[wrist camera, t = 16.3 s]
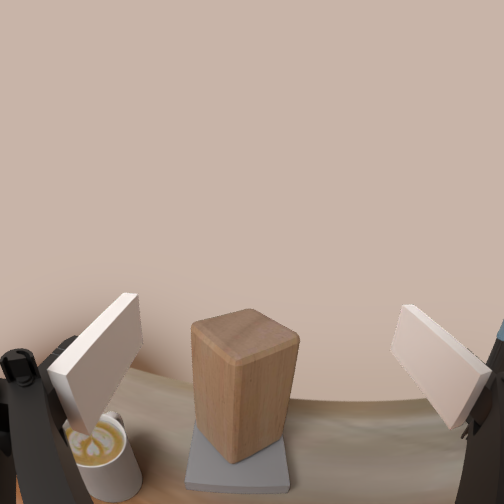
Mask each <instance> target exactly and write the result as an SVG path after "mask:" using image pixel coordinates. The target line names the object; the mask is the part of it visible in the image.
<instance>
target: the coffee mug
mask: <svg viewBox="0 0 504 504" xmlns="http://www.w3.org/2000/svg"><path fill="white" fill-rule="evenodd" d="M63 428H64V430H65V432H66V435H67V438H68V441H69V444H70V447H71V450H72V453H73V456H74V459H75V461H76V464H77V467H78V469H79V472H80V474H81V476H82V479H83V481H84V484H85V486H86V488H87V490H88V492H89V494H90V495H92V496H93V497H95V498H97V499H99V500H102V501H105V502H122V501H125V500H128V499H130V498H131V497H133V496H134V495H136V493H137V492H138V491H139V489H140V488H141V485H142V473H141V471H140V468H139V466H138V463H137V461H136V458H135V456H134V453H133V451H132V448H131V445H130V443H129V440H128V437H127V434H126V432H125V430H124V423H123V420H122V418H121V416H120V415H119V414H118V413H116V412H113V411H109V412H107V413H106V414H102V415H101V417H100V419H99V421H98V423H97V424H96V426H95V428H94V430H93V432H92V434H91V435H90V436H88V435H85V434H82V433H79V432H77V431H74V430H72V428H71V426H70V424H69V422H68V420H66V421H65V423H64V424H63Z"/></svg>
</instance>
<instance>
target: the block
mask: <svg viewBox="0 0 504 504" xmlns="http://www.w3.org/2000/svg"><path fill="white" fill-rule="evenodd" d="M299 343H300V338H299V335H298V334H297V333H296V332H294V331H292V330H290V329H288V328H287V327H285V326H283V325H281V324H279V323H277V322H276V321H274V320H272V319H270V318H268V317H267V316H265V315H263V314H261V313H260V312H258V311H256V310H254V309H244V310H241V311H237V312H233V313H229V314H225V315H221V316H217V317H213V318H209V319H204V320H200V321H196V322H194V323H193V324H192V326H191V345H192V367H193V385H194V400H195V413H196V424H197V428H198V429H199V430H200V431H201V433H202V434H203V435H204V436H205V437H206V438H207V440H208V441H209V442H210V443H211V444H212V445H213V446H214V447H215V449H216V450H217V451H218V452H219V453H220V454H221V455H222V456H223V457H224V458H225V459H226V460H227V461H228V462H229V463H231V464H235V463H237V462H239V461H241V460H243V459H245V458H247V457H249V456H251V455H253V454H254V453H256V452H258V451H260V450H262V449H264V448H265V447H267V446H269V445H271V444H272V443H274V442H276V441H277V440H279V439H280V437H281V436H282V432H283V428H284V423H285V418H286V413H287V409H288V404H289V399H290V393H291V388H292V383H293V378H294V372H295V366H296V361H297V355H298V349H299Z"/></svg>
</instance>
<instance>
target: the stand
mask: <svg viewBox="0 0 504 504" xmlns="http://www.w3.org/2000/svg"><path fill="white" fill-rule="evenodd" d="M185 486H186V489H189V490H197V491H206V492H218V493H237V494H273V493H287V492H288V490H289V487H290V481H289V474H288V467H287V461H286V454H285V447H284V440H283V434H282V436H281V437H280V439H279V440H277V441H276V442H274V443H272V444H271V445H269V446H267V447H265V448H264V449H262V450H260V451H258V452H256V453H254V454H253V455H251V456H249V457H247V458H245V459H243V460H241V461H239V462H237V463H235V464H231V463H229V462H228V461H227V460H226V459H225V458H224V457H223V456H222V455H221V454H220V453H219V452H218V451H217V450H216V449H215V447H214V446H213V445H212V444H211V443H210V442H209V441H208V440H207V438H206V437H205V436H204V435H203V434H202V433H201V431H200V430H199V429H198V428H197V424H196V420H195V425H194V431H193V436H192V442H191V447H190V453H189V459H188V464H187V470H186V476H185Z"/></svg>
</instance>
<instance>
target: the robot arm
mask: <svg viewBox="0 0 504 504" xmlns="http://www.w3.org/2000/svg"><path fill="white" fill-rule="evenodd" d="M142 345H143V338H142V330H141V321H140V311H139V299H138V294H132V293H123V294H122V295H121V296H120V297H119V298H118V299H117V300H115V301H114V302H113V303H112V304H111V305H110V306H109V307H108V308H107V309H106V310H105V311H104V312H103V313H102V314H101V315H100V316H99V317H98V318H97V319H96V320H95V321H94V322H93V323H92V324H91V325H90V326H89V327H88V328H87V329H86V330H85V331H84V332H83V333H82V334H81V335H80V336H72V337H70V338H68V339H66V340H65V341H64V342H63V343H61V344H60V345H59V346H58V349H57V348H56V349H55V350H54V351H53V352H52V354H50V355H49V356H48V357H47V358H46V359H45V360H44V361H43V363H41V364H40V365H39V366H38V367H37V364H36V362H35V359H34V356H33V353H32V352H31V351H29V350H27V349H23V348H21V349H14V350H10V351H8V352H6V353H5V354H4V355H3V356H2V357H1V359H0V365H1V367H2V370H3V372H4V375H5V377H6V379H2V378H0V504H16V474H17V479H18V484H19V488H20V492H21V496H22V500H23V503H24V504H94V503H93V501H92V499H91V497H90V495H89V492H88V490H87V488H86V486H85V484H84V481H83V479H82V476H81V474H80V472H79V469H78V467H77V464H76V461H75V459H74V456H73V453H72V450H71V447H70V444H69V441H68V438H67V435H66V432H65V430H64V428H63V424H64V423H65V421H66V420H68V422H69V424H70V426H71V428H72V430H74V431H77V432H79V433H82V434H85V435H88V436H90V435H91V434H92V432H93V430H94V428H95V426H96V424H97V423H98V421H99V419H100V417H101V415H102V414H103V412H104V410H105V408H106V406H107V405H108V403H109V401H110V399H111V397H112V396H113V394H114V392H115V390H116V389H117V387H118V385H119V384H120V382H121V380H122V378H123V377H124V375H125V373H126V372H127V370H128V368H129V366H130V365H131V363H132V361H133V360H134V358H135V356H136V354H137V353H138V351H139V350H140V348H141V346H142ZM390 351H391V353H392V354H393V355H394V356H395V358H396V359H397V360H398V361H399V363H400V364H401V365H402V366H403V368H404V369H405V370H406V372H407V373H408V374H409V375H410V377H411V378H412V379H413V381H414V382H415V383H416V385H417V386H418V387H419V389H420V390H421V391H422V392H423V394H424V395H425V396H426V398H427V399H428V400H429V402H430V403H431V405H432V406H433V407H434V409H435V410H436V411H437V413H438V414H439V415H440V417H441V418H442V420H443V421H444V422H445V424H446V425H447V426H448V428H449V429H450V430H451V429H454V428H456V427H459V426H461V425H463V423H464V422H465V420H466V421H467V422H468V423H469V425H468V427H467V428H466V430H465V431H464V433H463V434H462V436H461V439H463V438H464V436H465V435H466V434H468V436H467V438H466V440H467V447H466V454H465V460H464V465H463V471H462V476H461V480H460V485H459V489H458V493H457V497H456V501H455V504H504V320H503V322H502V325H501V327H500V330H499V331H498V333H497V339H496V342H495V344H494V346H493V349H492V351H491V353H490V356H489V358H488V360H487V363H486V364H485V363H484V362H482V361H481V360H480V359H479V358H478V357H477V356H475V355H474V354H473V353H472V352H471V351H470V350H469V349H468V348H466V347H465V346H463V345H462V344H461V343H460V342H459V341H458V340H456V339H455V338H454V337H453V336H452V335H450V334H449V333H448V332H447V331H445V329H443V328H442V327H441V326H439V325H438V324H437V323H436V322H435V321H434V320H432V319H431V318H430V317H429V316H427V315H426V314H425V313H424V312H422V311H421V310H420V309H419V308H417V307H416V306H415V305H413V304H412V305H402V308H401V312H400V316H399V320H398V323H397V327H396V331H395V334H394V338H393V341H392V344H391V348H390Z"/></svg>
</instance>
